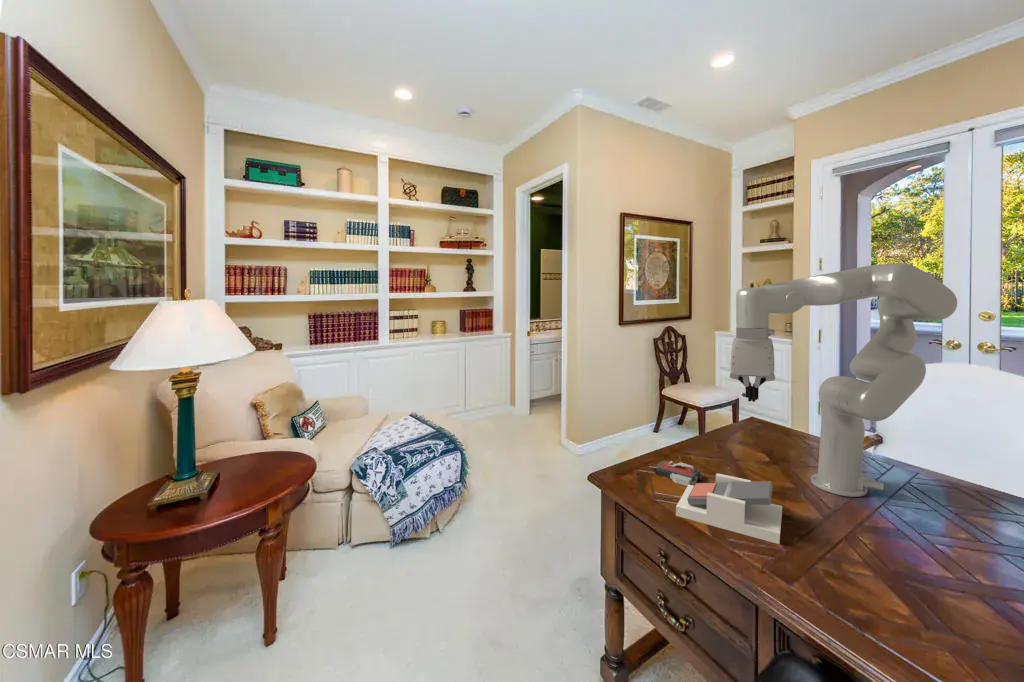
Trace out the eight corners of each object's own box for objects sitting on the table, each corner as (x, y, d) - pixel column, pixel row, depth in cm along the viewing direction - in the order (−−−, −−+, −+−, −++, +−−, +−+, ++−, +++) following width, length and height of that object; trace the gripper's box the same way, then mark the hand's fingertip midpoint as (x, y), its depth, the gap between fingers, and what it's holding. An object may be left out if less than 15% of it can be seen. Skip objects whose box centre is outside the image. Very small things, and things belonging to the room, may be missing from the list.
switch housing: (781, 515, 103) (783, 487, 102) (779, 544, 91) (781, 512, 90) (688, 492, 115) (689, 467, 114) (675, 515, 104) (676, 487, 103)
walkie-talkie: (649, 476, 127) (718, 497, 113) (649, 462, 126) (718, 482, 113) (661, 467, 133) (728, 485, 120) (661, 454, 133) (728, 471, 119)
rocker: (773, 488, 101) (770, 480, 101) (770, 505, 93) (768, 497, 93) (697, 489, 112) (695, 482, 112) (689, 505, 104) (686, 497, 104)
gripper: (785, 332, 109) (784, 399, 111) (723, 332, 118) (723, 394, 120) (785, 336, 103) (784, 406, 105) (719, 335, 111) (719, 401, 114)
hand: (751, 400), depth 112 cm, fingers closed
